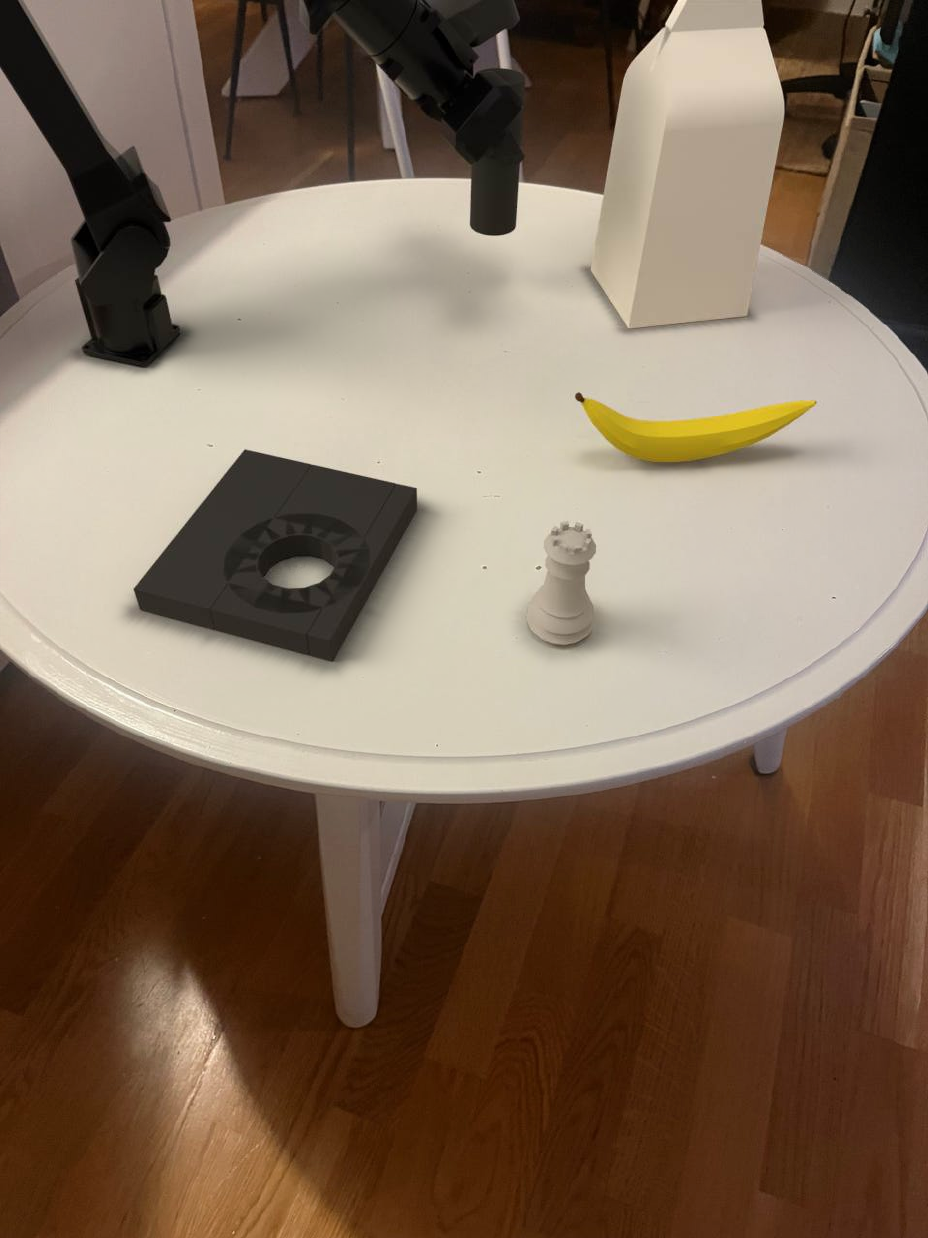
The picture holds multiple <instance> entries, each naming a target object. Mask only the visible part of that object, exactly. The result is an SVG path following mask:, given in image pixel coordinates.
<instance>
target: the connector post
mask: <svg viewBox="0 0 928 1238" xmlns="http://www.w3.org/2000/svg"><path fill="white" fill-rule="evenodd" d="M488 71H494V72H495V73H496V74H497V75H499V76H500V77H501V78H502V79H503V80H504V81H505V82H506V83H508V84H509V85H510V86H511V87H512V89H513V90H514V91H515V92H516V93H517V94H518V95H519V97H520V98H521V99H522V100H523V101H524V102H523V106H522V110H521V111H520V112H519V113H518V114H517V116H516V117H515V118H514V119H513V120H512V122H511V123H510V124H509V127H510V129H511V131H512V133H513V134H514V136H515V138H516V140H517V142H518V144H519V146H520V148H521V149H522V138H523V124H524V107H525V106H524V105H525V94H526V92H525V90H526V76H525V74H524V73H522V72H520V71H518V70H515V69H511V68H506V67H505V68H503V67H492V68H491V67H490V68H484V69H481V70H478V71H477V72H475V73H474V74H473V78H474V77H475V76H476V75H477V73H479V72H488ZM470 166H471V171H470V200H469V201H470V203H469V204H470V205H469V226H470V228H471V230H473V231H474V232H475V233H477V234H480V235H483V236H491V237H492V236H493V237H500V236H504V235H508V234H511V233H513V232H514V231H515V230H516V228H517V216H518V201H519V187H520V185H519V184H520V172H521V171H520V169H521V163H520V164H519V165H518V166H513V165H510V164H507V163H504V162H500V161H497V160H494V159H491V158H487V157H484V156H482V157H481V159H480V160H479V161H478V162H476V163H474V164H471V165H470Z"/></svg>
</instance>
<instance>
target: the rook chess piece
mask: <svg viewBox="0 0 928 1238" xmlns="http://www.w3.org/2000/svg"><path fill="white" fill-rule="evenodd" d="M569 525H570V523H569V520H567V521H560V525H559V526H557V525H554V526H553V528H552V529H551V530H550V533H548V535H547V536H546V537H545V539H544V540H543V549H544V551H545V553H546V557H545V561H544V562H545V564H544V565H545V567H546V570H547V572H546V575H545V578H544V581H543V584H542V585H541V586H540V588H539V589H538V590H537V591H536V592H535V593H534V595H533V596H532V597H531V599H530V601H529V606H528V610H527V616H526V622H527V624H528V627H529V628H530V630H531V631H532V632H533V633H534V634H535V635H536V636H537V637H538V638H540V640H542V641H544V642H545V643H549V644H551V645H557V646H566V645H567V646H568V645H573V644H575V643H578V642H579V641H581V640H582V639H585V638H586V637H588V636H589V634H590V633H591V632H592V630H593V628H594V614H595V613H594V612H595V608H594V604H593V602H592V599H591V598H590V596H589V594H588V592H587V590H586V575H587V574H588V573H589V571H590V569H591V568H590V567H591V562H590V560H592V559H593V558H594V556H595V555H596V553H597V544H596V543H595V540H594V539H593V537H592V535H593V533H592V532H591V530H590V528H587V529H585V530H584V524H583V523H581V522H578V521H575V524H574V526H569Z"/></svg>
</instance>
